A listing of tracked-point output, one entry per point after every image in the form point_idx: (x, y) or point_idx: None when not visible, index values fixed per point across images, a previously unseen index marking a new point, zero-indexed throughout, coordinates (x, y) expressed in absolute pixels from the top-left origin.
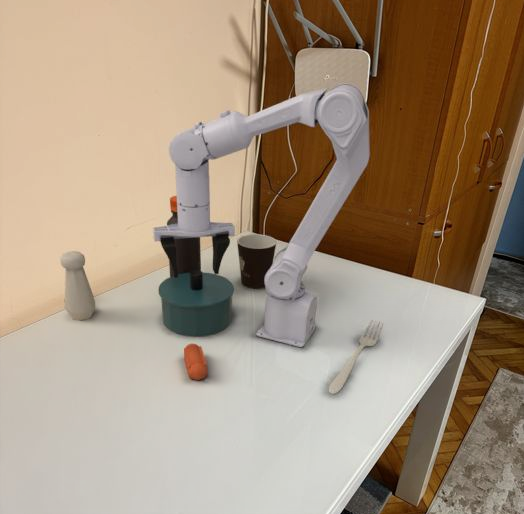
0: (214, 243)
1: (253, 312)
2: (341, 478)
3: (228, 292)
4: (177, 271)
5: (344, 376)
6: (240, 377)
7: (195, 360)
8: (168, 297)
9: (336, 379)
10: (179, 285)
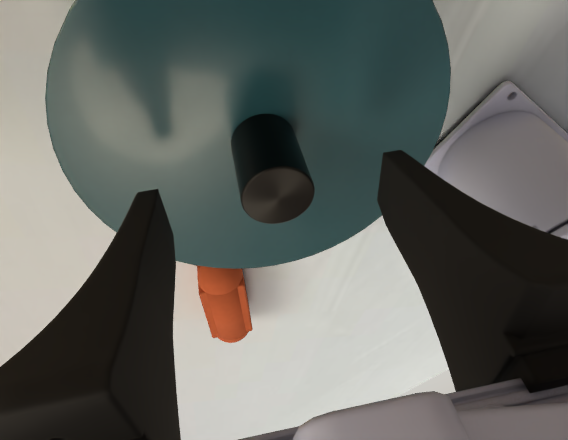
0: (470, 317)
1: (469, 25)
2: None
3: None
4: (174, 273)
5: None
6: (314, 299)
7: (228, 333)
8: None
9: None
10: (170, 113)
